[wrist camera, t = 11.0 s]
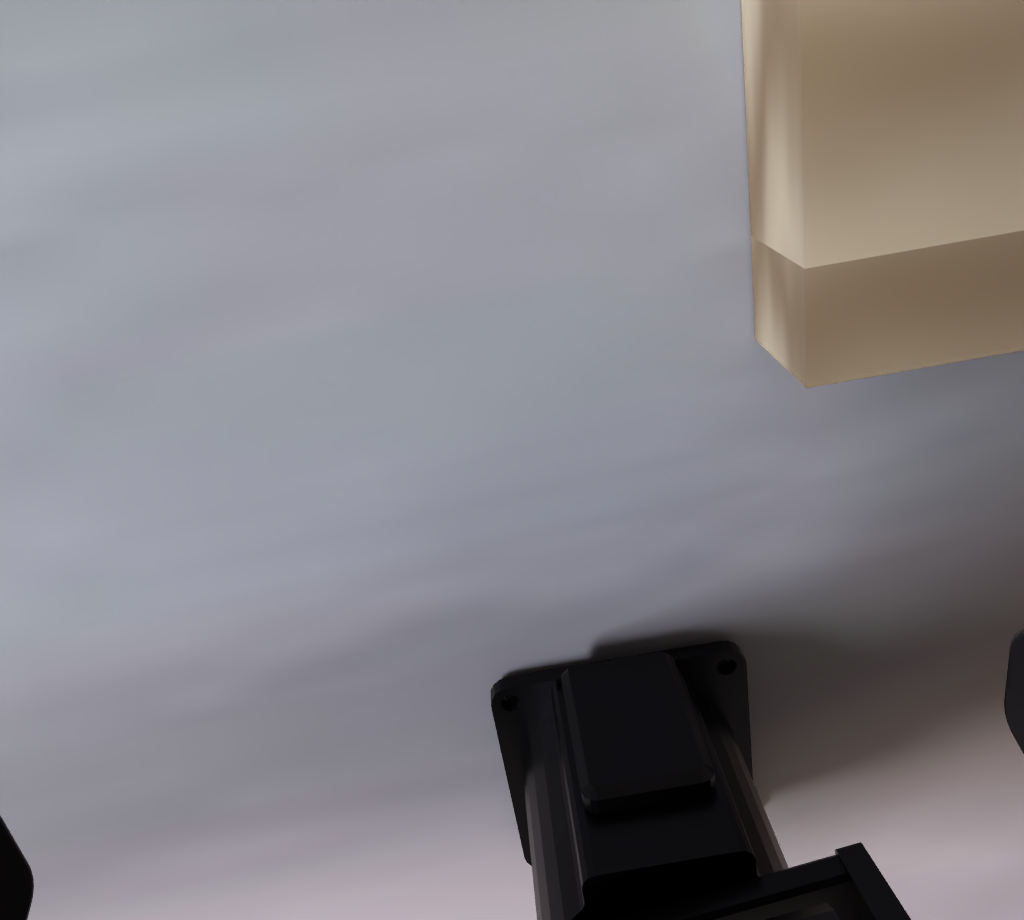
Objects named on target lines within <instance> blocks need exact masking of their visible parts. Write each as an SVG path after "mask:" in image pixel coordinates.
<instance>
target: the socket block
mask: <svg viewBox="0 0 1024 920" xmlns="http://www.w3.org/2000/svg"><path fill="white" fill-rule="evenodd" d="M741 2H742V26H743V51H744V75H745V99H746V123H747V148H748V172H749V196H750V220H751V244H752V269H753V293H754V317H755V340H756V341H757V342H759V343H760V344H761V345H762V346H763V347H764V348H765V349H766V350H767V351H768V352H769V353H770V354H771V355H772V356H773V357H774V358H775V359H776V360H777V361H779V362H780V363H781V364H782V365H783V366H784V367H785V368H786V369H787V370H788V371H789V372H790V373H791V374H792V375H793V376H794V377H795V378H796V379H797V380H798V381H800V382H801V383H802V384H803V385H804V386H805V387H806V388H810V387H815V386H821V385H827V384H833V383H838V382H844V381H850V380H856V379H861V378H867V377H873V376H879V375H885V374H890V373H896V372H902V371H908V370H913V369H919V368H925V367H931V366H936V365H942V364H948V363H954V362H959V361H965V360H971V359H977V358H982V357H988V356H994V355H1000V354H1005V353H1011V352H1017V351H1023V350H1024V0H741Z"/></svg>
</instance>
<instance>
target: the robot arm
mask: <svg viewBox="0 0 1024 920" xmlns="http://www.w3.org/2000/svg"><path fill="white" fill-rule="evenodd" d="M724 659H731V660H730V661H729V662H728V663H726V664H723V665H718V663H719V662H720V661H721V660H724ZM509 695H510V696H516V697H517V699H515V700H512V701H506V700H504V699H503V698H504V697H507V696H509ZM491 707H492V712H493V717H494V721H495V726H496V730H497V735H498V739H499V744H500V748H501V753H502V757H503V762H504V766H505V771H506V775H507V780H508V785H509V789H510V794H511V798H512V803H513V807H514V812H515V816H516V821H517V825H518V830H519V834H520V839H521V844H522V848H523V853H524V857H525V860H526V861H527V863H528V864H530V865H531V866H532V872H533V882H534V892H535V902H536V912H537V920H911V919H910V917H909V916H908V914H907V913H906V911H905V910H904V908H903V906H902V905H901V903H900V902H899V900H898V899H897V897H896V896H895V894H894V892H893V891H892V889H891V888H890V886H889V885H888V883H887V882H886V880H885V879H884V877H883V875H882V874H881V872H880V871H879V869H878V868H877V866H876V865H875V863H874V861H873V860H872V858H871V857H870V855H869V854H868V852H867V851H866V849H865V847H864V846H863V844H862V843H861V842H860V843H857V844H853V845H850V846H846V847H843V848H839V849H836V850H835V854H836V855H833V856H830V857H826V858H823V859H819V860H816V861H812V862H808V863H805V864H801V865H798V866H794V867H791V868H788V865H787V863H786V860H785V858H784V855H783V853H782V851H781V848H780V846H779V843H778V841H777V839H776V836H775V834H774V831H773V829H772V826H771V824H770V822H769V819H768V817H767V814H766V812H765V809H764V807H763V805H762V802H761V800H760V797H759V795H758V793H757V790H756V788H755V785H754V783H753V775H752V757H751V739H750V721H749V703H748V685H747V667H746V661H745V658H744V656H743V654H742V651H741V649H740V648H739V647H738V646H737V645H736V644H735V643H733V642H730V641H719V642H713V643H707V644H701V645H695V646H689V647H683V648H678V649H672V650H666V651H660V652H654V653H648V654H642V655H637V656H631V657H625V658H619V659H613V660H607V661H601V662H595V663H590V664H584V665H578V666H572V667H566V668H560V669H554V670H549V671H543V672H537V673H531V674H525V675H519V676H513V677H508V678H504V679H501V680H499V681H498V682H497V683H495V684H494V685H493V687H492V689H491ZM1004 708H1005V715H1006V719H1007V722H1008V725H1009V727H1010V730H1011V732H1012V734H1013V736H1014V737H1015V739H1016V741H1017V743H1018V745H1019V746H1020V748H1021V750H1022V752H1023V753H1024V630H1021V631H1019V632H1018V633H1016V634H1015V635H1014V637H1013V639H1012V641H1011V645H1010V652H1009V662H1008V671H1007V680H1006V689H1005V699H1004ZM33 889H34V883H33V875H32V871H31V868H30V866H29V864H28V862H27V861H26V859H25V857H24V855H23V854H22V852H21V850H20V848H19V847H18V845H17V843H16V842H15V840H14V838H13V836H12V835H11V833H10V831H9V829H8V828H7V826H6V824H5V822H4V821H3V819H2V817H1V816H0V920H27V918H28V915H29V911H30V907H31V903H32V898H33Z"/></svg>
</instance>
